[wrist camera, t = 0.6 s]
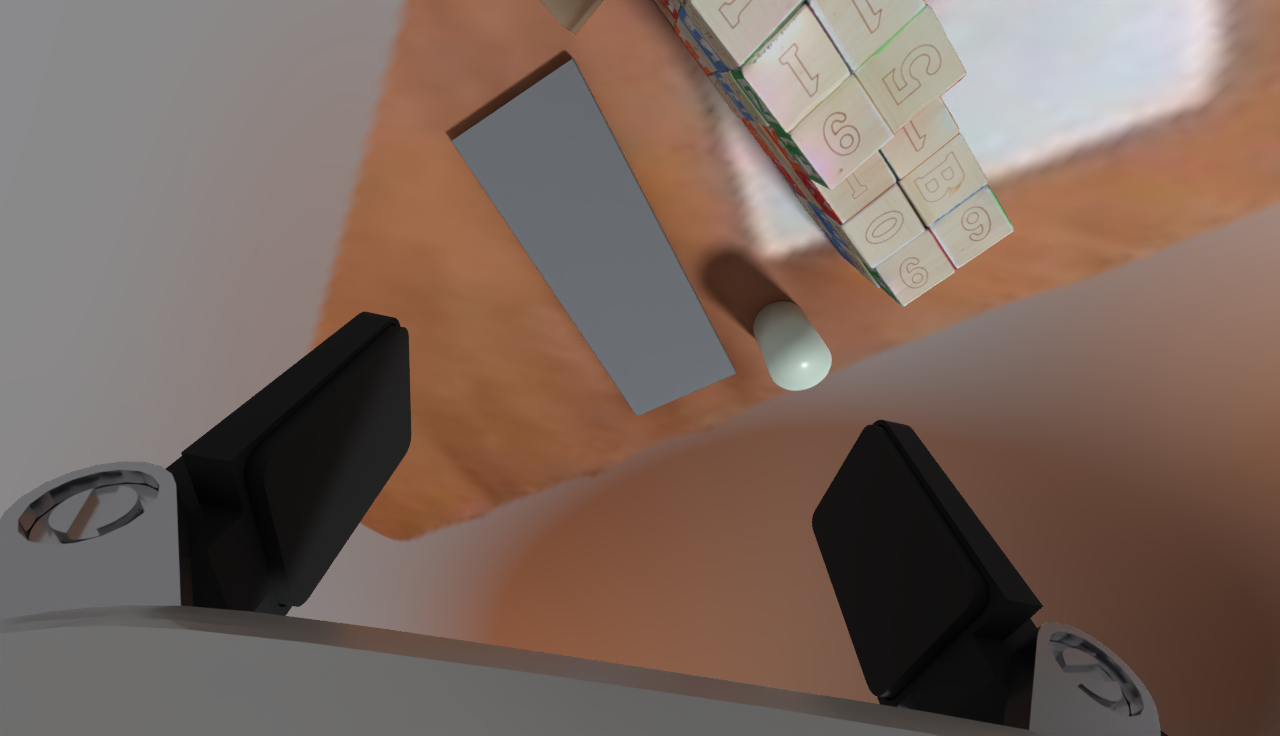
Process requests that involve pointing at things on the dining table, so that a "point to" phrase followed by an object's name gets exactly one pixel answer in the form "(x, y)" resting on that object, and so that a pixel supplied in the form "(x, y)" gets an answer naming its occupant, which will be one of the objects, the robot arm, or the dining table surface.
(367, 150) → the dining table surface
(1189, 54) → the dining table surface
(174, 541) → the robot arm
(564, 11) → the walnut cube
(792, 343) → the mint green capsule
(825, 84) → the stack of blocks
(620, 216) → the mat
